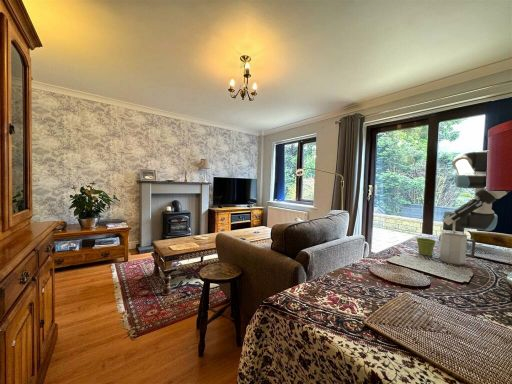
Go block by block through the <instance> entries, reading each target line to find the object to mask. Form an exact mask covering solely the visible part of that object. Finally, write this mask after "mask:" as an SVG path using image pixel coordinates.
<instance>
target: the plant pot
mask: <svg viewBox="0 0 512 384" xmlns="http://www.w3.org/2000/svg"><path fill="white" fill-rule="evenodd" d="M415 240H416V242H417V247H418V253H419V254H420V255H422V256H429V257H431V256H433V252H434V247H435V245H436V243H437V241H436V240H434V239H431V238H424V237H418V238H416V239H415Z"/></svg>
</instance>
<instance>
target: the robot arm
mask: <svg viewBox="0 0 512 384" xmlns="http://www.w3.org/2000/svg"><path fill="white" fill-rule="evenodd" d="M487 151H488V150H478V151H477V150H475V151H466V152H462V153H460V154H458V155H456V156H455V157H454V158H453V160H452V162H451V165H452V168H453V170H456V173H457V176H456V178H455V185H456V188H459V189H475V190H474V198H472V199H469V200H468V201H467V202H465V203H464V204H463V205H461V206H459V207H458V208H457V209H446V210H445V211H444V212H443V218H442V230H449V231H453V222H454V221H456V223H455V231H459V232H463V233H465V229H469V230H478V231H493V230H495V228H496V226H497V224H498V215H497V214H496V213H495V211H494V210H493V209H492V208H493V203H495V202H496V201H497V199H498V200H499V199H501V198H502V197H504V196H506V195H507V194H508V193H510V192H511V191H486V163H487ZM453 212H455V213H456V214H454V215H452V216H451V217H449V215H450V214H451V213H453ZM459 218H460V219H459ZM458 219H459V220H458ZM440 239H441V233H440V234H439V236H438V240H439V241H440Z"/></svg>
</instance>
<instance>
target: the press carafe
mask: <svg viewBox="0 0 512 384" xmlns="http://www.w3.org/2000/svg"><path fill="white" fill-rule="evenodd" d="M440 234H441V239H440V240H439V242H440V243H439V258H438V259H439V260H440V262H441V261H442V262H443V263H447V264H450V265H456V266H457V265H458V266H465V265H466V259H467V257H469V258H475V253H476V252H475V251H476V240H475V239H469V238H468V235H467V234H466V233H465V232H464V233H463V232H459V231H455V233H452V231H449V230H443V229H441V232H440ZM468 242H469V243H471V246H470V247H471V248H470V249H471V250H470V253H467V244H468Z"/></svg>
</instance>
